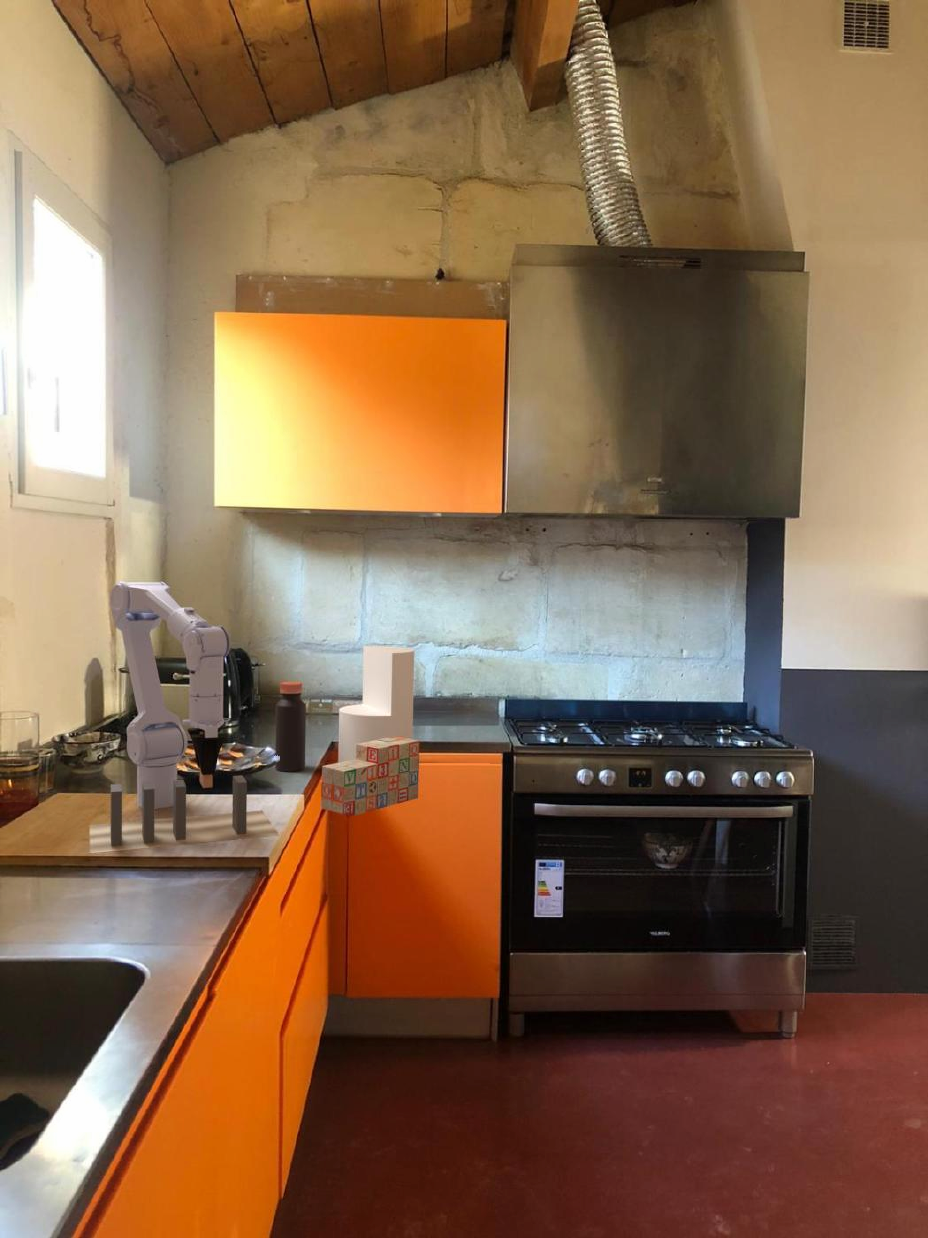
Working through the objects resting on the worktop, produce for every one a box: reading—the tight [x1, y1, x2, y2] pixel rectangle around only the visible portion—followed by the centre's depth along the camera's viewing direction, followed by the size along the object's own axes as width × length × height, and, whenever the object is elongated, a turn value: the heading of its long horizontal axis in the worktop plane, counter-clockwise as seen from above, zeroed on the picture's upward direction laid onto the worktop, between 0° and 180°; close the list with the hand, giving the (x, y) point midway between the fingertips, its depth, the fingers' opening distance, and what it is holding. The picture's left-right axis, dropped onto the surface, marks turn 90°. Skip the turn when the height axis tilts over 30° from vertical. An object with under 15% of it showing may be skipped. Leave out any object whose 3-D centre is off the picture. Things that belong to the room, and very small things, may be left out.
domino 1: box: [110, 783, 123, 847], centre depth 146 cm, size 2×5×9 cm, turn 23°
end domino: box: [232, 775, 248, 835], centre depth 153 cm, size 2×5×9 cm, turn 23°
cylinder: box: [337, 645, 415, 763], centre depth 206 cm, size 17×17×28 cm
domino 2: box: [141, 782, 155, 843], centre depth 148 cm, size 2×5×9 cm, turn 23°
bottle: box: [274, 681, 307, 773], centre depth 204 cm, size 7×7×20 cm
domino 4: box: [199, 732, 214, 789], centre depth 157 cm, size 2×5×9 cm, turn 24°
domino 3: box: [172, 779, 187, 840], centre depth 150 cm, size 2×5×9 cm, turn 24°
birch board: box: [89, 809, 280, 855], centre depth 153 cm, size 16×30×1 cm, turn 113°
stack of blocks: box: [320, 737, 420, 818], centre depth 175 cm, size 21×6×12 cm, turn 141°
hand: (205, 770), depth 157 cm, fingers closed on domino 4, 5 cm apart
